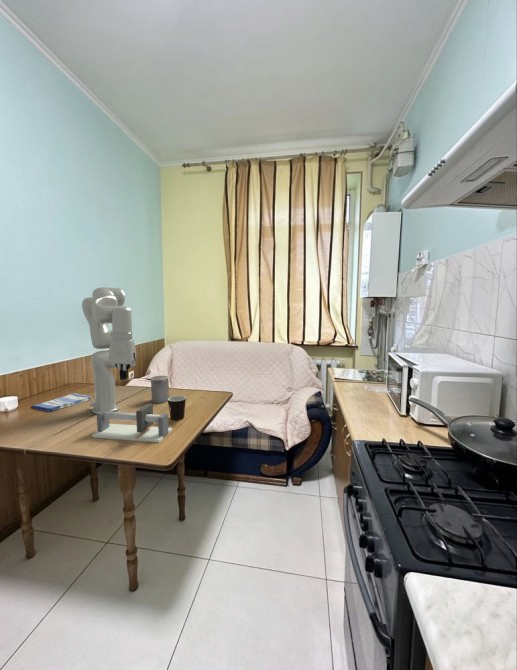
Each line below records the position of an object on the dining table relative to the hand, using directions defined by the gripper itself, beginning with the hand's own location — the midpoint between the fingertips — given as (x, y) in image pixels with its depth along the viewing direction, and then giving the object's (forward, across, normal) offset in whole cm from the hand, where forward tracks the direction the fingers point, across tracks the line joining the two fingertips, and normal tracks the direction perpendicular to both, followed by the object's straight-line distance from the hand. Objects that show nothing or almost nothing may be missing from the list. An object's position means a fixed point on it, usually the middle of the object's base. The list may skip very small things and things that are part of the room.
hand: (123, 378), depth 125 cm
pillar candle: (+25, -5, +42) cm, 49 cm away
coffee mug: (+24, +16, +17) cm, 34 cm away
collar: (+21, +10, -1) cm, 23 cm away
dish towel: (+27, -57, +29) cm, 69 cm away
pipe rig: (+24, +4, -1) cm, 24 cm away
